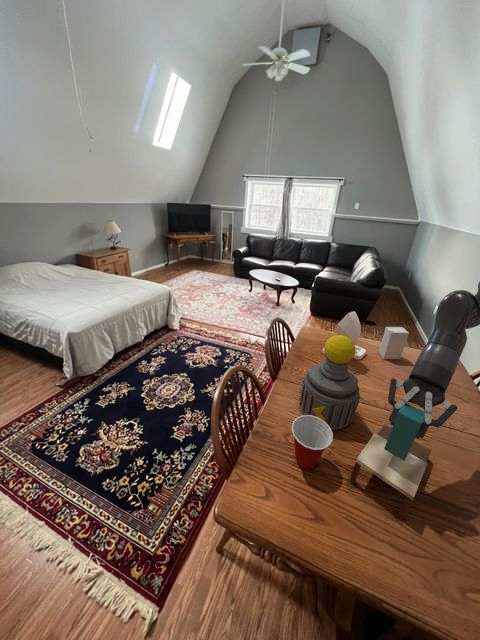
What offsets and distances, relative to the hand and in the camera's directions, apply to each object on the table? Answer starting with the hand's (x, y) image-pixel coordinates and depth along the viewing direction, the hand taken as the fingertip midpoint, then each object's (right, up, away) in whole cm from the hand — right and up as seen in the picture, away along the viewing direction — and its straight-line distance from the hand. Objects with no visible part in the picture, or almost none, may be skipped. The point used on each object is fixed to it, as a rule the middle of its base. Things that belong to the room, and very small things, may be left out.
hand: (404, 431), depth 61 cm
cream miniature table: (+5, -17, +14) cm, 22 cm away
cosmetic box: (+35, +7, +69) cm, 78 cm away
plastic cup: (-19, -15, +16) cm, 29 cm away
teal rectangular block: (+1, -6, +5) cm, 8 cm away
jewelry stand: (+12, +8, +69) cm, 70 cm away
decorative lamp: (-7, -7, +34) cm, 35 cm away
